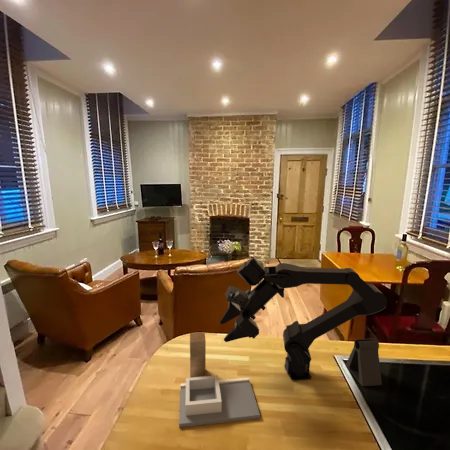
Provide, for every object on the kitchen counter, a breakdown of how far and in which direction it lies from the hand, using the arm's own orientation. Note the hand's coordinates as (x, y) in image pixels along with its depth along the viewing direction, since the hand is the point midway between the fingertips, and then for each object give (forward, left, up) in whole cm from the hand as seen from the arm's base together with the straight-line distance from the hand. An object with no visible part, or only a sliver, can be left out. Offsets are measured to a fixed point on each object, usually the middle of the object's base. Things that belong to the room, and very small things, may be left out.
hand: (222, 331), depth 78 cm
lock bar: (+8, 0, -14) cm, 16 cm away
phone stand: (-43, +6, -14) cm, 46 cm away
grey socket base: (+3, +11, -14) cm, 18 cm away
